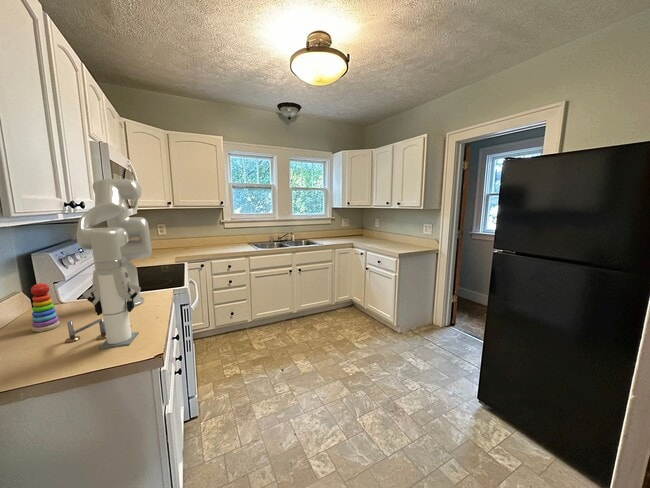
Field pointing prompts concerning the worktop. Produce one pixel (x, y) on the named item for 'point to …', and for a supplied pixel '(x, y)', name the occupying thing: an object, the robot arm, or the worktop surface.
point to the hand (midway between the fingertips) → (115, 312)
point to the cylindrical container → (114, 311)
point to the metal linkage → (72, 332)
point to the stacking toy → (43, 309)
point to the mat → (125, 343)
